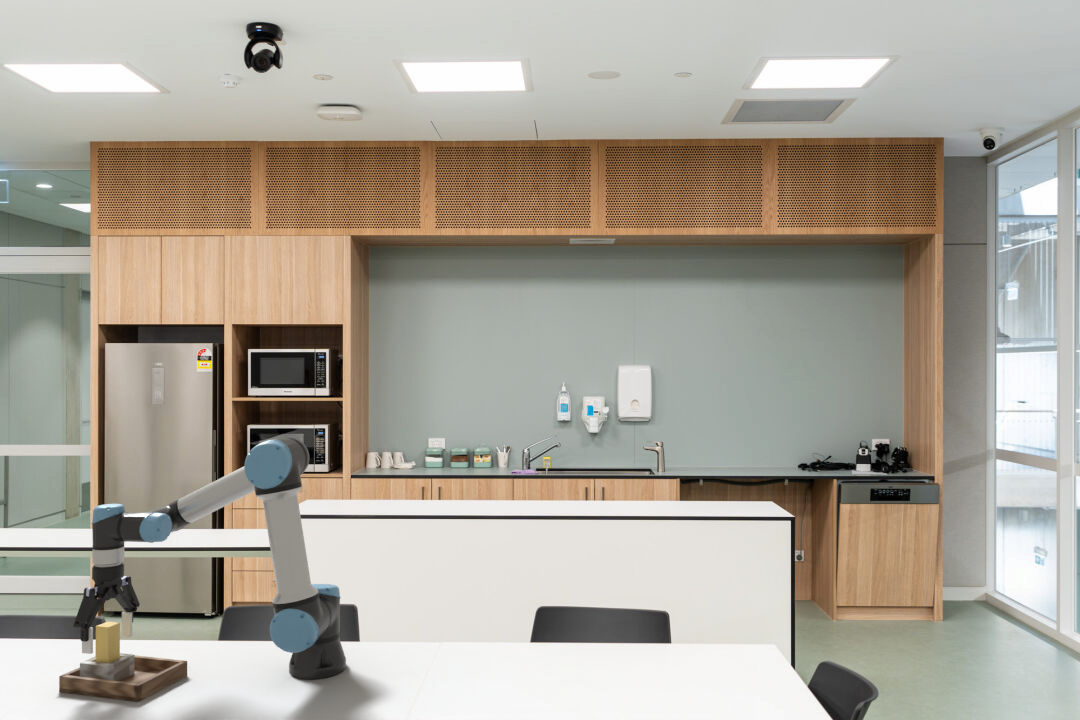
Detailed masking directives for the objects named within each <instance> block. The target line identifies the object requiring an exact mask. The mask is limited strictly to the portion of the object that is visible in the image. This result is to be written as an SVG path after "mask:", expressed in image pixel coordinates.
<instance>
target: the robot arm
mask: <svg viewBox="0 0 1080 720" xmlns="http://www.w3.org/2000/svg"><path fill="white" fill-rule="evenodd" d="M309 464H310V453H309V449H308V448H307V446H306V445H305V443H304V442H303V441H301V440H300V439H297V438H296V437H291V436H289V437H288V436H286V437H285V436H284V437H280V438H276V439H275V438H274V439H267V440H264V441H262V442H260V443H258V444H257V445H255V446H254V447H253V448H251V449H250V450H249V452H248V453H247V455H246V457H245V460H244V466H242V467H240V468H238V469H236V470H234V471H232V472H230V473H228V474H226V475H225V476H222V477H220V478H217V480H214V481H212V482H210V483H208V484H205V486H202V487H201V488H199V489H196V490H195V491H194V490H193V491H192V492H190V493H189V494H187V495H184V496H182V497H180V498H179V499H176V500H174V501H172V502H171V503H170V502H169V504H166V505H164V506H161V507H158V508H155V509H151V510H149V511H144V512H127V511H126V510H125V506H124V504H121V503H106V504H104V503H103V504H100V505H96V506H95V507H94V508H93V510H92V522H91V526H92V551H91V552H92V555H91V556H92V559H91V561H92V562H91V563H92V564H93V566H92V567H91V579H92V581H93V582H94V586H93V587H85V588H84V589H83V597H82V600H81V602H80V606H79V608H78V612H77V614H76V617H75V620H74V621H73V628H76V629H78V628H79V629H80V641H81V653H82V654H87V655H88V654H89V655H91V654H94V627H92V624H93V622H94V621H95V619H96V617H97V615H98V613H99V611H100V609H101V607H102V606H103V605H104V604H105V603H106V602H108V601H110V600H111V599H114V600H115V601H116V602H117V603H118V604H119V605H120V607H121V608H122V609H123V611H122V612H121V637H124V638H132V637H133V623H134V613H135V612H137V611H138V608H139V607H140V602H139V599H138V597H137V594H136V591H135V589H134V587H133V585H132V577H131V575H130V576H127V575H125V564H124V561H125V543H126V542H128V543H129V542H134V543H135V542H136V543H137V542H138V543H150V544H151V543H163V542H165V541H166V540H168V537H169V536H170V535H171V533H173V532H174V533H175V532H178V531H180V530H183V529H184V528H186V526H188V525H190V524H192V523H194V522H196V521H199V520H200V519H202V518H204V517H207V516H209V515H210V514H212V513H214V512H216V511H219V510H220V509H223V508H224V507H226V506H228V505H230V504H233V503H234V502H236V501H238V500H241V499H242V498H244V497H246V496H249V495H250V494H253V493H254V492H255V497H256V498H258V499H260V500H261V501H262V503H263V508H264V510H263V511H264V516H265V517H264V518H265V521H266V522H265V523H266V529H267V534H268V541H269V542H268V543H269V549H270V554H271V555H270V557H271V562H272V566H273V574H274V582H275V588H276V595H275V596H274V597H273V599H272V602H271V603H272V608H273V614H274V615H273V617H272V619H271V621H270V625H269V635H270V638H271V641H272V642H273V643H274V645H275V646H276V647H277V648H278V649H280V650H282V651H283V652H287V653H291V656H290V660H289V665H288V672H289V674H290V676H292V677H294V678H298V679H303V680H316V679H319V680H320V679H325V678H329V677H334V676H337V675H339V674H341V673H342V672H344V671H345V670H346V668H347V657H346V655H345V651H344V649H343V645H342V643H341V639H340V633H341V632H340V630H341V629H340V628H341V626H340V622H341V621H340V619H341V616H340V615H341V613H340V611H341V605H340V604H341V593H340V592H341V591H340V587H339V586H338V585H336V584H332V583H331V584H328V583H312V582H311V576H310V568H309V561H308V557H307V556H308V554H307V549H306V543H305V536H304V531H303V529H304V528H303V523H302V517H301V510H300V504H299V503H300V502H299V498H298V493H300V491H301V489H302V488H303V483H302V478H301V476H302V475H303V474H304V473H305V472H306V470H307V468H308V466H309Z"/></svg>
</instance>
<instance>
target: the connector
mask: <svg viewBox="0 0 1080 720" xmlns="http://www.w3.org/2000/svg"><path fill="white" fill-rule="evenodd" d="M120 638H121V623H120V622H115V621H105V622H104V623H101V624H98V625H95V656H96V661H95V662H100V663H110V662H113V661H115V660H117V659H119V658H120V653H121V650H120V649H121V645H120V644H121V639H120Z"/></svg>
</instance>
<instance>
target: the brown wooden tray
mask: <svg viewBox="0 0 1080 720" xmlns="http://www.w3.org/2000/svg"><path fill="white" fill-rule="evenodd" d="M95 661H96V655H94V656H93V657H90V658H89V659H86V660H83V661H81V662H80V663H79V667H78V668H75V669H73V670H70V671H68V672H65V673H63V674H61V675H60V676H59V677H58V681H59V682H58V683H59V685H58V687H59V689H58V690H59V691H58V692H59V693H63V694H73V695H79V696H88V697H95V698H102V699H103V698H104V699H112V700H120V701H128V702H135V703H136V702H137V703H139V702H141V701H143V700H145V699H146V698H149V697H150V696H153V695H154V694H156V693H158V692H160V691H161V690H163V689H166V688H167V687H169V686H171V685H173V684H175V683H176V682H178V681H180V680H182V679H184V678H186V677H188V660H181V659H172V658H163V657H155V656H154V657H153V656H145V655H136V654H132V653H122V652H120V658H119V659H117V660H115V661H113V662H110V663H100V662H95Z"/></svg>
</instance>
